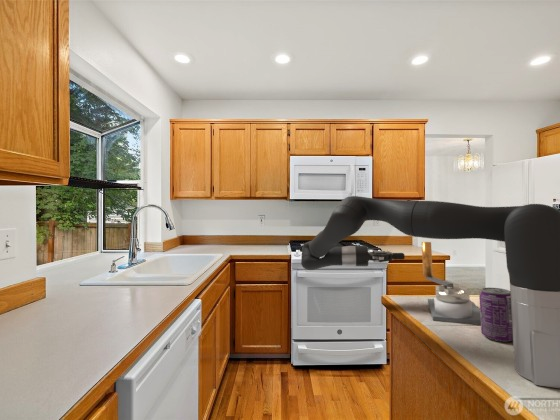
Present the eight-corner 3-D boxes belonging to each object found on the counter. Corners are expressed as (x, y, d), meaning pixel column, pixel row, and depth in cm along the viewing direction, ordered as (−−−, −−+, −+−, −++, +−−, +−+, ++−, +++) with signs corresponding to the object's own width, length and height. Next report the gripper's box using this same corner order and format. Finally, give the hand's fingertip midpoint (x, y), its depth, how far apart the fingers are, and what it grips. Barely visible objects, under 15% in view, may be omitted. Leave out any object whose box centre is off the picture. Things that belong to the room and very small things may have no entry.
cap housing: (488, 325, 82) (487, 306, 83) (433, 320, 88) (432, 303, 88) (473, 305, 101) (472, 290, 101) (427, 302, 106) (427, 287, 106)
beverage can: (509, 334, 76) (506, 287, 77) (521, 345, 70) (518, 294, 70) (477, 331, 79) (475, 286, 79) (486, 342, 72) (483, 293, 72)
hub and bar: (476, 302, 86) (473, 246, 87) (447, 303, 86) (444, 247, 86) (438, 287, 105) (436, 241, 105) (414, 288, 104) (411, 242, 105)
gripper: (354, 247, 103) (407, 247, 99) (353, 244, 116) (400, 243, 112) (355, 269, 103) (408, 269, 99) (354, 263, 115) (401, 263, 112)
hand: (404, 256), depth 105 cm, fingers closed
